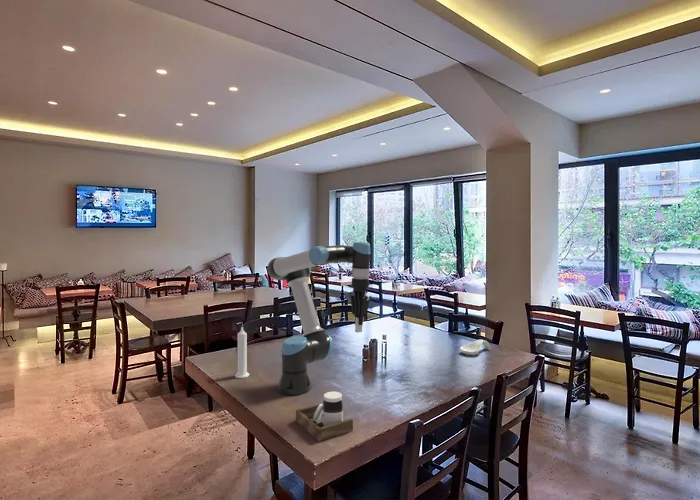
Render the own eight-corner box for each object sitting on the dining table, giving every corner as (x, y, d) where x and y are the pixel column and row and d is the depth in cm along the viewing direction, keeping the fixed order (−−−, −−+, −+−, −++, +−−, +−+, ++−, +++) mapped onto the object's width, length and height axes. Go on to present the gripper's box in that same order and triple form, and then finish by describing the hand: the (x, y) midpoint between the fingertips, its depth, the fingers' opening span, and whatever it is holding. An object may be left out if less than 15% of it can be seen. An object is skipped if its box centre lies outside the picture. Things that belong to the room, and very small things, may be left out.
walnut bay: (295, 420, 152) (295, 410, 152) (327, 411, 160) (327, 402, 160) (318, 441, 137) (318, 429, 136) (352, 430, 144) (352, 419, 144)
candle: (240, 379, 196) (239, 329, 195) (232, 375, 200) (232, 327, 200) (252, 375, 201) (252, 326, 200) (244, 372, 206) (244, 324, 205)
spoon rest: (472, 358, 232) (472, 346, 232) (455, 353, 242) (456, 342, 242) (495, 351, 247) (495, 340, 246) (479, 347, 256) (479, 336, 256)
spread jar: (344, 431, 144) (344, 400, 143) (312, 433, 142) (312, 401, 142) (341, 416, 155) (341, 387, 155) (312, 417, 154) (312, 388, 154)
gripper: (376, 279, 167) (374, 334, 169) (358, 275, 178) (356, 327, 179) (362, 280, 163) (360, 336, 164) (344, 276, 174) (343, 329, 175)
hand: (358, 331), depth 172 cm, fingers closed
